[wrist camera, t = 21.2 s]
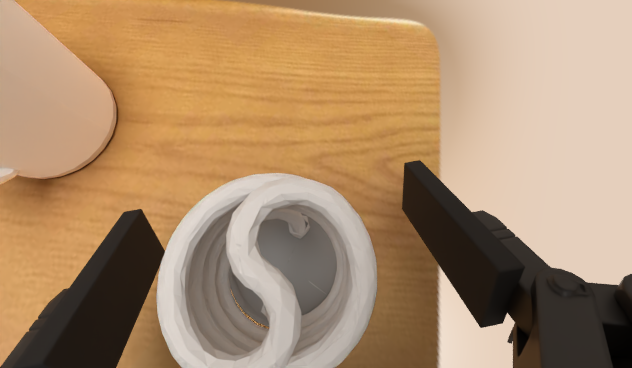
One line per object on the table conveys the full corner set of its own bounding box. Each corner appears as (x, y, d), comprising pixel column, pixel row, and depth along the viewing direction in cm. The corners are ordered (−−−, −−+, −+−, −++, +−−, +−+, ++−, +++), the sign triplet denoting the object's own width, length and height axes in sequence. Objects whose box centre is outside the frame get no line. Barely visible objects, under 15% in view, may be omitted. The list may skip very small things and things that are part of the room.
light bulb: (257, 208, 18) (158, 129, 6) (345, 221, 18) (409, 165, 6) (239, 302, 17) (74, 420, 5) (334, 316, 17) (386, 471, 5)
